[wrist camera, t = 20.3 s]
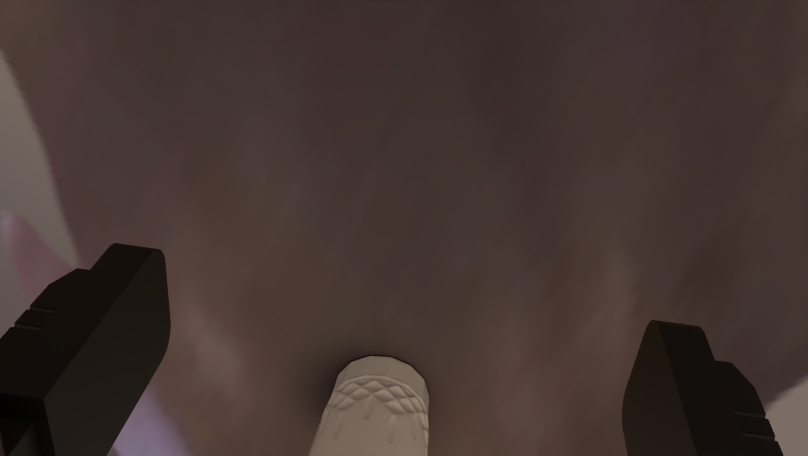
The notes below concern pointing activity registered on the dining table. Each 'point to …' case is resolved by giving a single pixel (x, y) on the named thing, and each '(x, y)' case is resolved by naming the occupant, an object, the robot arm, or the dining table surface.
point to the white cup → (375, 411)
